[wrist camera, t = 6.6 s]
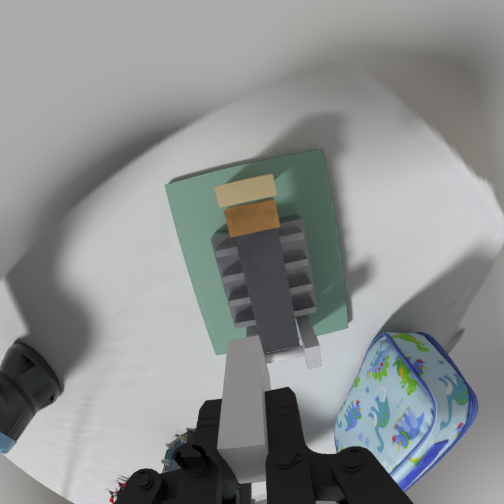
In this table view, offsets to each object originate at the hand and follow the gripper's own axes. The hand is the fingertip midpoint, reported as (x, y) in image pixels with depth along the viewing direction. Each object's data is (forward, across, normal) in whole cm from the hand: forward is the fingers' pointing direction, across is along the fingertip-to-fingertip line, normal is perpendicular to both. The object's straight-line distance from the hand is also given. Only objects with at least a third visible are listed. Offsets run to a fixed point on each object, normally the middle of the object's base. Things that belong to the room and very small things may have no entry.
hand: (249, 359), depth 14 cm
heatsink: (+22, +2, -2) cm, 22 cm away
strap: (+15, +1, -2) cm, 15 cm away
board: (+22, +2, -2) cm, 22 cm away
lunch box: (+22, +15, -29) cm, 39 cm away
